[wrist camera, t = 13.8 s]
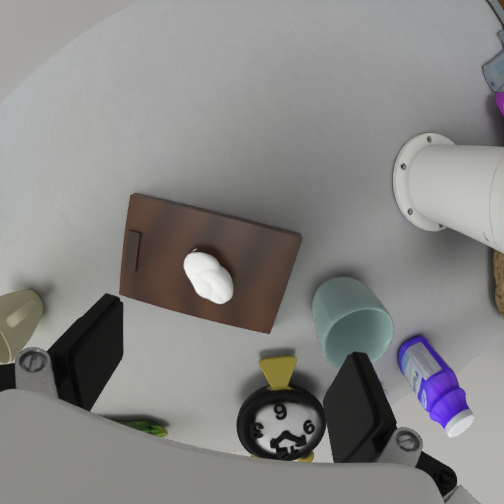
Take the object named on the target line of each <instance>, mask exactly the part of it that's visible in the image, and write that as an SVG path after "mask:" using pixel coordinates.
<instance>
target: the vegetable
mask: <svg viewBox="0 0 504 504" xmlns="http://www.w3.org/2000/svg"><path fill="white" fill-rule="evenodd" d="M117 423H120V424H122V425H125V426H128V427H131V428H133V429H136V430H139V431H142V432H145V433H148V434H152V435H155V436H158V437H161V438H162V437H164V436H166V435H167V434H168V433H167V430H166V429H164V427H162V426H159V425H157V424H155V423H154V422H152V421H147V420H140V421H133V422H117Z"/></svg>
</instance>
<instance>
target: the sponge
mask: <svg viewBox="0 0 504 504" xmlns="http://www.w3.org/2000/svg"><path fill="white" fill-rule="evenodd" d="M493 267H494V276H495V281H496V288H495V300H496V305H497V307H498V311H499V313H500V314H501V315H502V316H503V318H504V254H503V253H502V252H500V251H498V250H496V249H494V251H493Z"/></svg>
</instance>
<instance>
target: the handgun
mask: <svg viewBox="0 0 504 504" xmlns="http://www.w3.org/2000/svg"><path fill="white" fill-rule="evenodd" d="M488 2H489V4H490V5H491V7H492V8H493V9H494V11H495V12H496V14H497V15H498V17H499V19H500V20H501V22H502V23H503V25H504V0H488ZM499 35H500V36H501V38H502V39H503V43H504V30H502V31H501V32H499ZM483 68H484V69H483V71H484V75H485V79H486V81H487V82H488V84H489V86H490V87H491V89H492V90H493V91H495V92H497V91H498V92H502V88H501V87H502V86H503V85H504V50H503V51H502V52H501V53H500V54H498V55H497V56H496V57H494V58H493V59H492V60H490V61H489V62H488V63H486V64H485V65H484V66H483Z"/></svg>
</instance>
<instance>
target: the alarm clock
mask: <svg viewBox="0 0 504 504" xmlns="http://www.w3.org/2000/svg"><path fill="white" fill-rule="evenodd" d="M296 362H297V359H296V357H295V356H292V355H282V356H273V357H265V358H262V359H261V360H260V361H259V366H260V368H261V370H262V371H263V373H264V375H265V377H266V378H267V380H268V382H269V383H270V385H268V386H265V387H262V388H260V389H259V390H257V391H255V392H254V393H253V394H251V395H250V396H249V397H248V398H247V399H246V400H245V402H244V403H243V405H242V406H241V408H240V410H239V413H238V417H237V433H238V437H239V440H240V442H241V444H242V445H243V447H244V448H245V449H246V450H247V451H248V452H249V453H250V454H252V455H251V457H256V458H264V459H273V460H283V461H293V460H296V459H297V460H298V461H299V462H311V461H312V460H313V458H314V453H313V451H312V450H313V449H314V448H315V447H316V446H317V445H318V444H319V443H320V441H321V439H322V437H323V435H324V433H325V429H326V417H325V412H324V409H323V407H322V405H321V403H320V402H319V400H318V399H317V398H316V397H315V396H313V395H312V394H311V393H310V392H308V391H307V390H305V389H303V388H301V387H298V386H295V385H291V384H288V383H289V380H290V378H291V375H292V373H293V370H294V367H295V365H296Z"/></svg>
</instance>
